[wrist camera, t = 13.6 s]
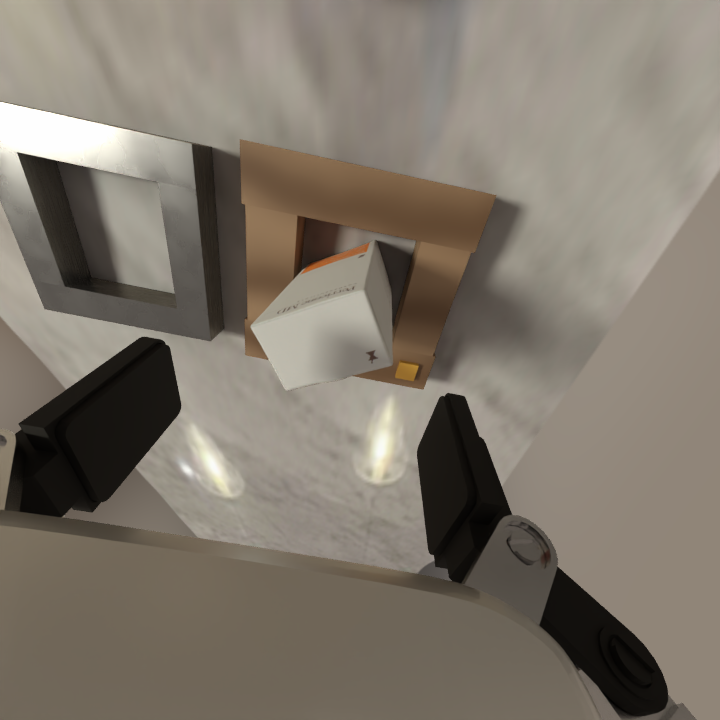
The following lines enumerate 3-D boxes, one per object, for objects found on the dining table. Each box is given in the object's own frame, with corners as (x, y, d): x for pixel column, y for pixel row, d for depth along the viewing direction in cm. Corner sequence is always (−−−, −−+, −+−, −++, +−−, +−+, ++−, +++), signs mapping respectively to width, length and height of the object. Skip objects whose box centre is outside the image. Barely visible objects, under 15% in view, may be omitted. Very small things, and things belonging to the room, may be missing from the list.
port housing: (255, 143, 20) (236, 138, 18) (485, 193, 21) (498, 195, 18) (255, 341, 28) (243, 357, 26) (420, 373, 29) (423, 392, 26)
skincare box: (376, 237, 23) (369, 287, 12) (392, 289, 25) (396, 368, 14) (304, 262, 24) (245, 326, 14) (325, 310, 26) (286, 395, 16)
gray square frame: (1, 101, 20) (-45, 92, 18) (211, 147, 20) (191, 143, 18) (71, 298, 27) (44, 309, 25) (224, 328, 28) (210, 341, 26)
